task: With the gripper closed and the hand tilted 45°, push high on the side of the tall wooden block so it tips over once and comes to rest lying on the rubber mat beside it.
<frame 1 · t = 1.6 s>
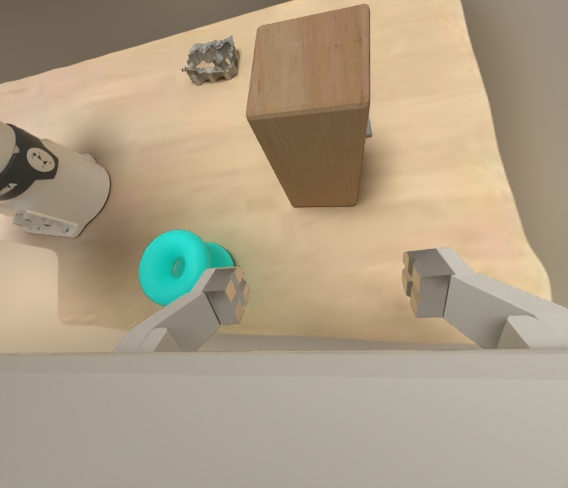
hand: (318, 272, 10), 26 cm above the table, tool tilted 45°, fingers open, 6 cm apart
egg carton: (216, 71, 51), on the table
donuts: (209, 274, 40), on the table
wooden block: (324, 178, 39), on the table
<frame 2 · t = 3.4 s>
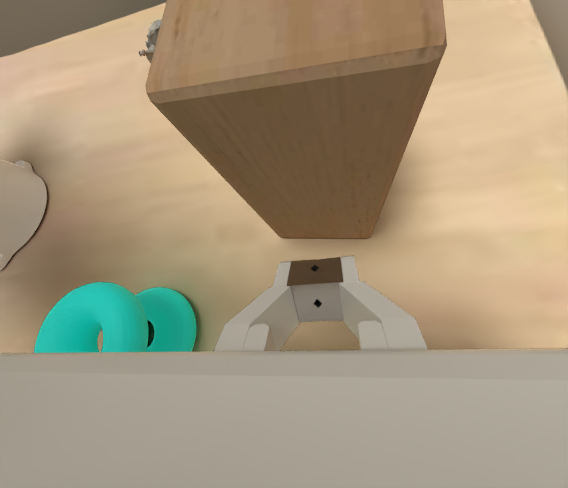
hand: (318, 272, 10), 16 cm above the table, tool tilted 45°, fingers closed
egg carton: (185, 54, 39), on the table
donuts: (164, 331, 28), on the table
wooden block: (324, 197, 28), on the table
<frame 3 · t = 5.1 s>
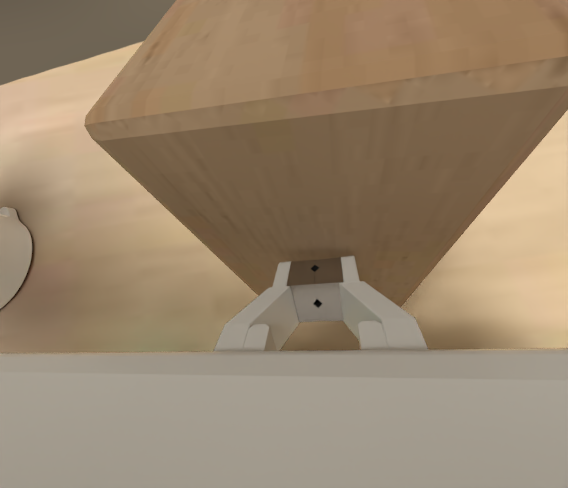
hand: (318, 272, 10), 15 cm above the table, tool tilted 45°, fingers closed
wooden block: (331, 268, 24), point 1 cm above the table, touching gripper
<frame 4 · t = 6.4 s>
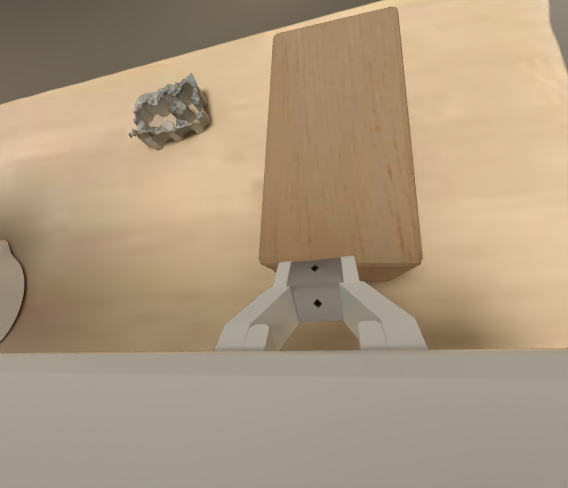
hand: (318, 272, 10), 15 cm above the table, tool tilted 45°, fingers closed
egg carton: (179, 124, 36), on the table
wooden block: (336, 277, 19), point 6 cm above the table, touching rubber mat
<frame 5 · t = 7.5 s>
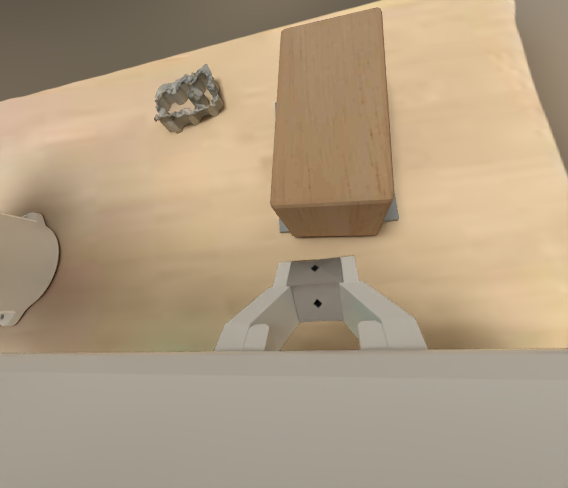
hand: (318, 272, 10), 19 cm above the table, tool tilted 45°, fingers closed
egg carton: (195, 110, 40), on the table
wooden block: (331, 225, 24), point 6 cm above the table, touching rubber mat
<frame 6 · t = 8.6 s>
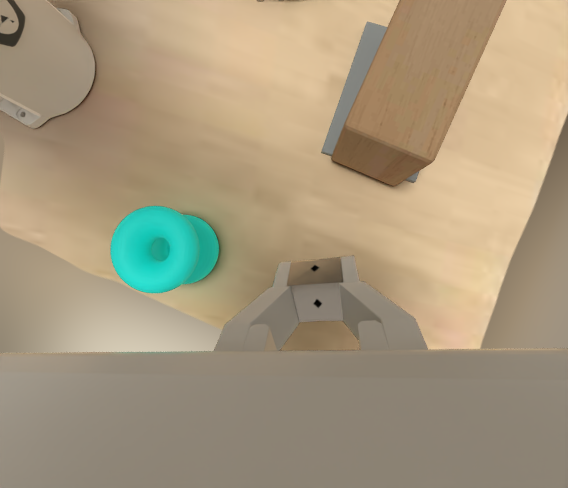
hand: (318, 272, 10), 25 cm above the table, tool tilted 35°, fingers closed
donuts: (189, 249, 36), on the table
rubber mat: (389, 103, 35), on the table
wooden block: (372, 163, 29), point 6 cm above the table, touching rubber mat
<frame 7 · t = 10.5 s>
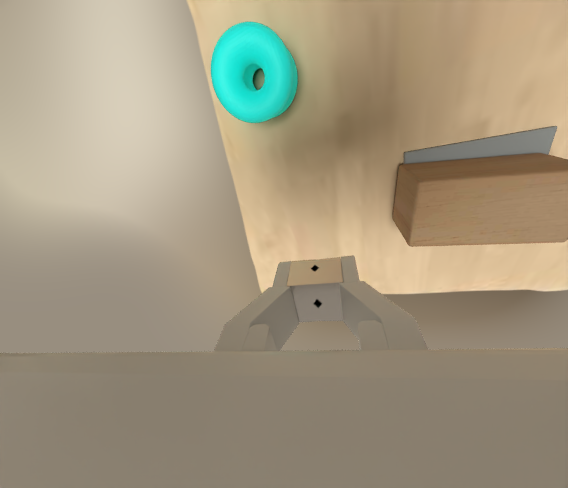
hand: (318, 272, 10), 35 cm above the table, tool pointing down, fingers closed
donuts: (265, 81, 36), on the table
rubber mat: (466, 184, 40), on the table
wooden block: (401, 204, 38), point 6 cm above the table, touching rubber mat
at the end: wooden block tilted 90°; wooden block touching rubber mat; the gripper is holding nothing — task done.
